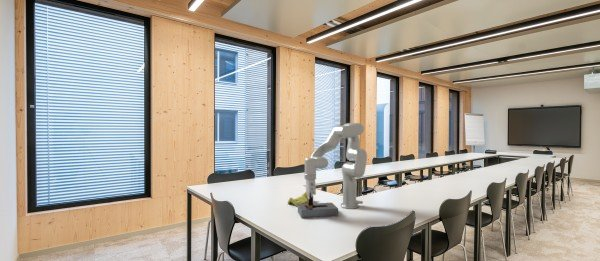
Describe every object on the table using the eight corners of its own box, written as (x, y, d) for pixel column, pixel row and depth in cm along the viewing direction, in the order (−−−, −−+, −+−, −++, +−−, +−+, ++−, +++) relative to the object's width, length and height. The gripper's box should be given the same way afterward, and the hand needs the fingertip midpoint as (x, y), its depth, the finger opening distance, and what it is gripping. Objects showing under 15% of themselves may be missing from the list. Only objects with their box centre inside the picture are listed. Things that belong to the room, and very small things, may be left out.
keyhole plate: (331, 209, 195) (331, 202, 195) (338, 216, 181) (338, 208, 181) (297, 211, 191) (297, 204, 191) (301, 218, 177) (301, 210, 177)
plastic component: (299, 204, 200) (289, 196, 206) (296, 212, 203) (286, 204, 208) (315, 196, 216) (306, 189, 221) (312, 204, 218) (303, 197, 223)
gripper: (318, 178, 177) (318, 208, 178) (313, 174, 194) (312, 201, 194) (307, 179, 176) (307, 208, 176) (302, 174, 192) (302, 201, 193)
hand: (310, 204), depth 185 cm, fingers closed on peg, 3 cm apart
